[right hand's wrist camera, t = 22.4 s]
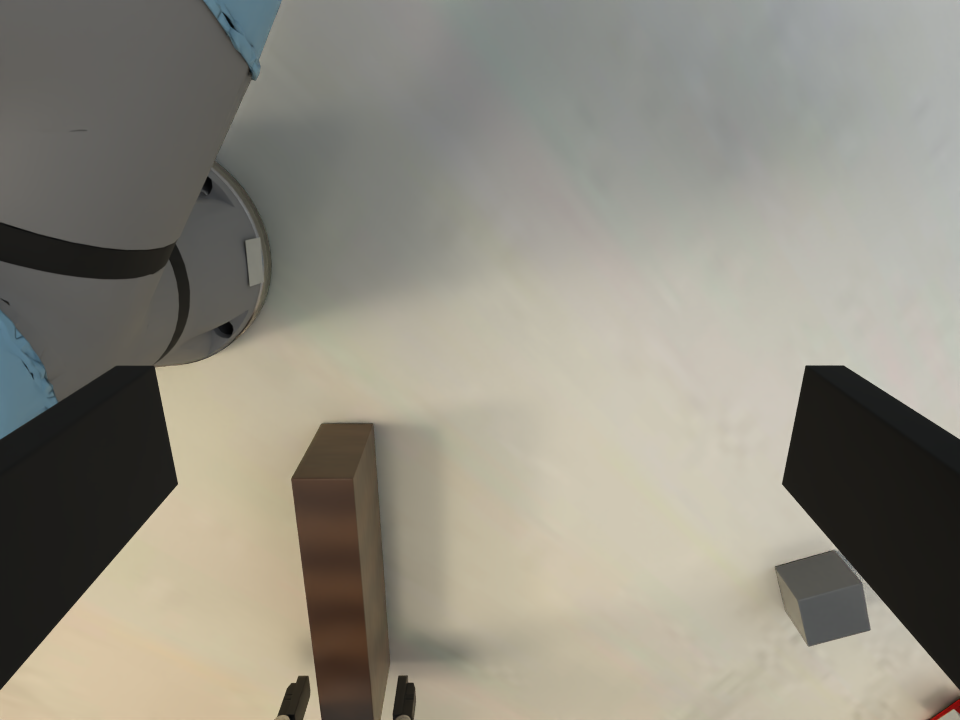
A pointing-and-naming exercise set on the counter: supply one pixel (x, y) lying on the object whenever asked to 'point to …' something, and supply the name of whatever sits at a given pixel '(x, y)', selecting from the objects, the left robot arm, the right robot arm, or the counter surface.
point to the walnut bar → (344, 570)
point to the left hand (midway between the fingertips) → (354, 683)
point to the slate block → (823, 598)
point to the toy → (949, 712)
